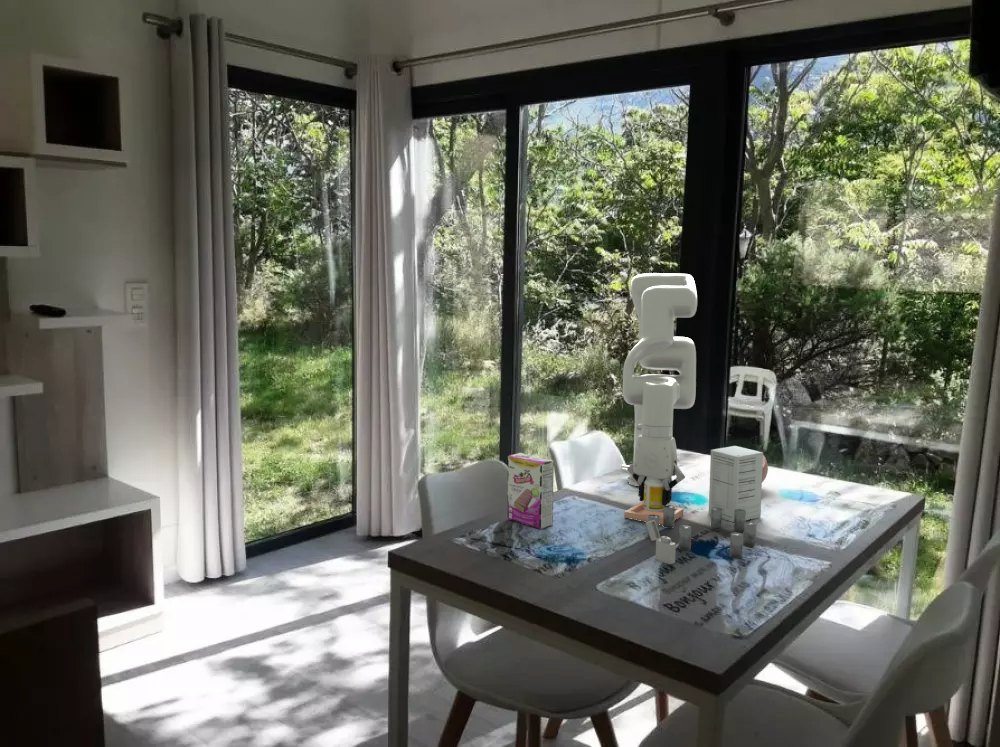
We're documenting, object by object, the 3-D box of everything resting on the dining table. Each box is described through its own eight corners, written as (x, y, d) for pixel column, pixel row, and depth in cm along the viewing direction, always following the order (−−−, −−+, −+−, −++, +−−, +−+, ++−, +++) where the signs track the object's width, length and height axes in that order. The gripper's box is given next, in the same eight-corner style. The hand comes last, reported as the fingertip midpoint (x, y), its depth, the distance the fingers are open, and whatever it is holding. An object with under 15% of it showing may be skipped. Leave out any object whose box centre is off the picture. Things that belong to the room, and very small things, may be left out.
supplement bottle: (639, 508, 207) (640, 471, 205) (653, 504, 210) (654, 467, 209) (655, 513, 203) (657, 475, 201) (669, 509, 206) (671, 472, 205)
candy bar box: (506, 520, 204) (506, 455, 201) (519, 515, 207) (520, 452, 205) (540, 530, 196) (541, 463, 194) (553, 525, 200) (554, 459, 197)
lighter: (675, 562, 176) (676, 526, 175) (670, 564, 175) (671, 528, 174) (649, 553, 181) (650, 518, 180) (644, 555, 180) (645, 520, 179)
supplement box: (761, 518, 207) (765, 452, 204) (735, 523, 202) (738, 456, 199) (733, 507, 215) (736, 444, 212) (707, 513, 210) (709, 448, 208)
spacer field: (639, 541, 189) (640, 520, 188) (677, 517, 207) (677, 497, 206) (736, 562, 176) (737, 539, 176) (767, 534, 194) (768, 514, 193)
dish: (624, 518, 205) (624, 511, 205) (643, 507, 214) (643, 501, 214) (665, 527, 199) (666, 519, 199) (683, 515, 208) (683, 508, 208)
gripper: (618, 429, 205) (617, 499, 208) (683, 438, 196) (681, 512, 198) (632, 424, 212) (630, 492, 214) (695, 433, 202) (692, 504, 204)
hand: (654, 501), depth 206 cm, fingers closed on supplement bottle, 5 cm apart
